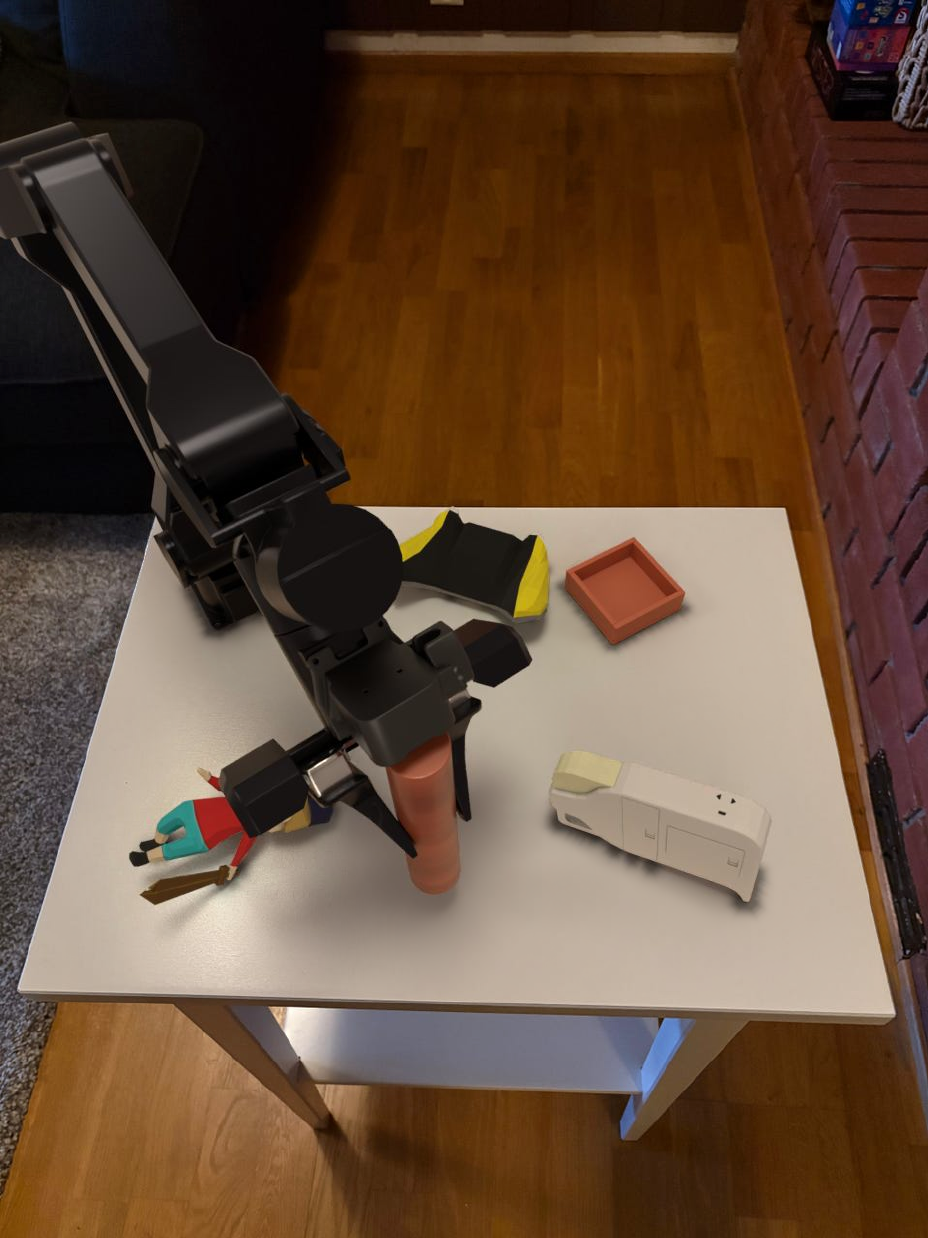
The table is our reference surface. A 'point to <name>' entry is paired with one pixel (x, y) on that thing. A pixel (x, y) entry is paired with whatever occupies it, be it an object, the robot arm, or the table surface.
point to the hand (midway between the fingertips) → (440, 837)
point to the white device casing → (663, 817)
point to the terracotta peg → (428, 813)
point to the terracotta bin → (623, 590)
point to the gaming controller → (480, 566)
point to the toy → (208, 840)
